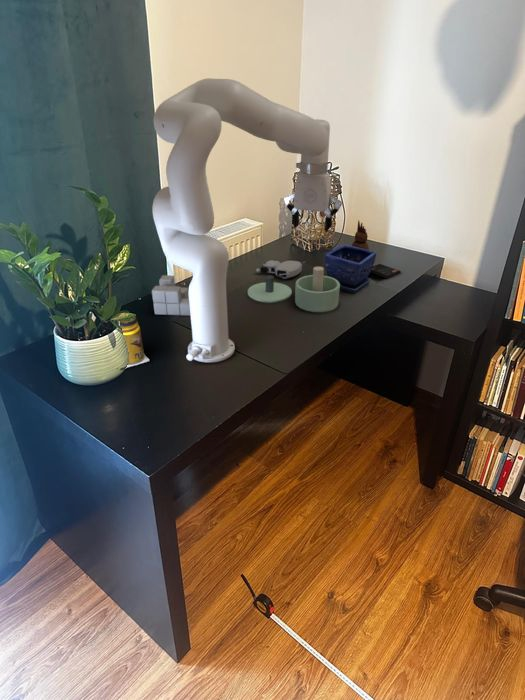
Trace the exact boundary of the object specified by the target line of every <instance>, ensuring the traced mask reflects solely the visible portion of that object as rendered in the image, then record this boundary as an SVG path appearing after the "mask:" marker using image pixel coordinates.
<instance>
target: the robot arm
mask: <svg viewBox="0 0 525 700" xmlns="http://www.w3.org/2000/svg"><path fill="white" fill-rule="evenodd" d="M222 122H224V123H226V124H230V125H232V126H233V127H235V128H238V129H240V130H242V131H244V132H246V133H248V134H250V135H252V136H254V137H256V138H259V139H261V140H265V141H268V142H269V141H270V142H275V144H276V145H277V147H278V148H279V150H281V151H283V152H286V153H291V154H298V155H300V162H296V163H295V168H296V169H299V172H297V175H296V179H295V186H294V192H293V193H291V194H289V195H287V196H285V197H284V198H283V201H284V203H285V206H286V208H287V209H288V211H290V214H291V224H292V225H293V226H292V227H293V229H296V228H297V227H299V225H300V212H299V211H308V212H319V213H322V212H323V213H324V214H325V216H326V217H325V220H324V231H325V232H328V231H329V230H330V229H331V228H332V225H333V223H332V222H333V216H334V215H336V214H337V213H338V212H339V211H340V209H341V207H342V205H343V202H342V201H341V200H340V199H339V198H337V197H335V196H334V195H332V185H331V184H332V183H331V175H330V172H328V167H329V151H330V132H331V126H330V125H331V124H330V123H329V121H327V120H326V119H318V118H317V119H315V118H312V117H311V116H309V115H307V114H305V113H302V112H299V111H297V110H294V109H292V108H290V107H287V106H285V105H283V104H280V103H277V102H274V101H272V100H270V99H268V98H267V97H265V96H264V95H262V94H260V93H259V92H257V91H256V90H254V89H252V88H250V87H249V86H247V85H245V84H243V82H240V81H237V80H235V79H231V78H230V79H229V78H209V77H208V78H203V79H200V80H198V81H196V82H194V83H192V84H190V85H188V86H187V87H185V88H183V89H181V90H180V91H178V92H177V93H175V94H173V95H171V96H170V97H168V98H167V99H165V100H163V101H162V102H161V103H160V104H159V105H158V107H157V108H156V109H155V112H154V114H153V127H154V131H155V132H156V134H157V135H158V137H159V138H160V139H161V140H163V141H165V142H166V143H170V144H172V145H173V146H172V148H171V151H170V153H169V155H168V158H167V161H166V167H165V175H166V180H167V185H168V186H165V187H162V188H161V189H160V190H159V191H157V192H156V194H155V196H154V198H153V200H152V207H151V210H152V211H151V212H152V218H153V222H154V225H155V229H156V232H157V235H158V239H159V242H160V246H161V248H162V249H161V250H162V251H163V254H164V256H165V258H166V260H167V261H169V262H170V263H171V264H172V265H174V266H176V267H178V268H181V269H183V270H185V271H187V272H189V273H191V274H192V278H191V281H190V283H189V285H188V297H189V304H190V315H191V316H190V324H191V337H192V341H191V342H190V343H189V344H188V346H187V354H186V360H187V361H189V362H192V361H193V360H194V361H197V362H201V363H208V364H209V363H218V362H222V361H225V360H227V359H229V358H230V357H232V355H233V354H234V353H235V352H236V351H235V350H236V347H235V342H234V341H233V340H232V339H230V338H229V320H228V299H227V298H228V297H227V276H228V275H227V274H228V268H229V261H230V255H229V251H228V248H227V247H226V245H225V244H224V243H223V242H222V241H220V240H219V239H218V238H216V237H214V236H210V235H207V234H208V233H209V232H210V231H211V230H212V229H213V227H214V224H215V212H214V207H213V202H212V198H211V195H210V194H211V193H210V188H209V183H208V178H207V177H208V176H207V169H206V168H207V162H208V159H209V157H210V154H211V152H212V150H213V148H214V147H215V145H216V144H217V142H218V140H219V138H220V136H221V133H222V126H223V125H222ZM292 200H293V203H292ZM331 203H333V204H334V205H335V207H334V208H333V209H332V208H331V205H332V204H331Z"/></svg>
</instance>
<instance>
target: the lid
mask: <svg viewBox="0 0 525 700" xmlns="http://www.w3.org/2000/svg"><path fill="white" fill-rule="evenodd" d="M274 278H275V277H274V276H273V275H266V276H265V282H259V283H256V284H253V285H251V286H249V288H248V289H247V296H248V297H249V298H250V299H252V300H254V301H257V302H261V303H278V302H282V301H286V300H288V299H289V298H290V297H291V296H292V294H293V291H292V288H291V287H290V286H288V285H287V284H284V283H281V282H274V281H275V279H274Z"/></svg>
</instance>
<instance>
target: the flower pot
mask: <svg viewBox="0 0 525 700" xmlns="http://www.w3.org/2000/svg"><path fill="white" fill-rule="evenodd" d="M358 256H360V259H358V258H357V257H358ZM376 258H377V252H376V251H373V250H370V249H369V250H366V249H362V248H358V247H354V246H352V245H349V244H341V245H339V246H337V247H335V248H334V249H332V250H330V251H328V252H327V253H325V254H324V265H325V266H324V267H325V270H326V274H327V275H326V276H329V277H332V278H334V279H336V280H338V282H339V283H340V291H344V292H347V293H351V294H355V293H357V292H359V291H360V290H361V289H363V288H364V287H366V286H367V285H368V284H369V283H370V282H371V278H369V275H370V274H371V270H372V267H373V266H375V262H376ZM351 259H352V260H351ZM353 259H354V260H353Z"/></svg>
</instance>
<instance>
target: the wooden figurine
mask: <svg viewBox="0 0 525 700" xmlns="http://www.w3.org/2000/svg"><path fill="white" fill-rule="evenodd" d="M367 240H368V233H367V229H366V228H365V226H364V225H363V222H360V220H358V221H357V229H356V232H355V234H354V241H353V242H352V243H351V246H354V247H358V248H362V249H366V250H370V249H369V248H370V247H369V244H368V243H367ZM357 258H358V259H360V256H358V257H357ZM352 261H354V259H353V258H352Z"/></svg>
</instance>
